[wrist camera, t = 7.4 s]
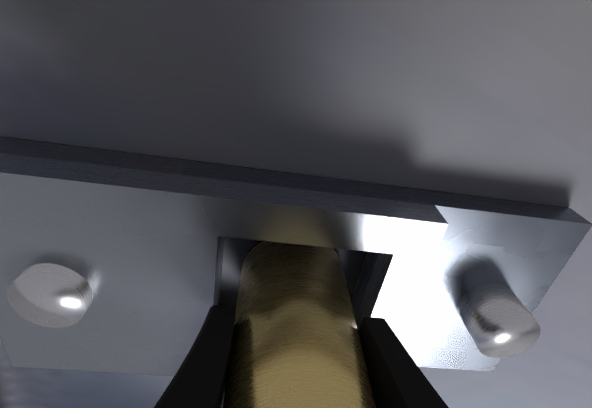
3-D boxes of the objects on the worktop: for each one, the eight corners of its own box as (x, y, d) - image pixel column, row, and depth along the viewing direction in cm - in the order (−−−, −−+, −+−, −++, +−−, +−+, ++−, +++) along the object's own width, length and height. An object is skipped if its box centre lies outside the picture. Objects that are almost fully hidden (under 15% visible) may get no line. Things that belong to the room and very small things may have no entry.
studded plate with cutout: (480, 350, 16) (513, 406, 14) (45, 320, 14) (1, 380, 12) (570, 208, 12) (633, 254, 10) (-4, 136, 10) (-82, 174, 8)
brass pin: (335, 312, 14) (381, 563, 8) (241, 310, 13) (210, 569, 7) (350, 235, 12) (425, 483, 6) (240, 231, 12) (200, 486, 6)
